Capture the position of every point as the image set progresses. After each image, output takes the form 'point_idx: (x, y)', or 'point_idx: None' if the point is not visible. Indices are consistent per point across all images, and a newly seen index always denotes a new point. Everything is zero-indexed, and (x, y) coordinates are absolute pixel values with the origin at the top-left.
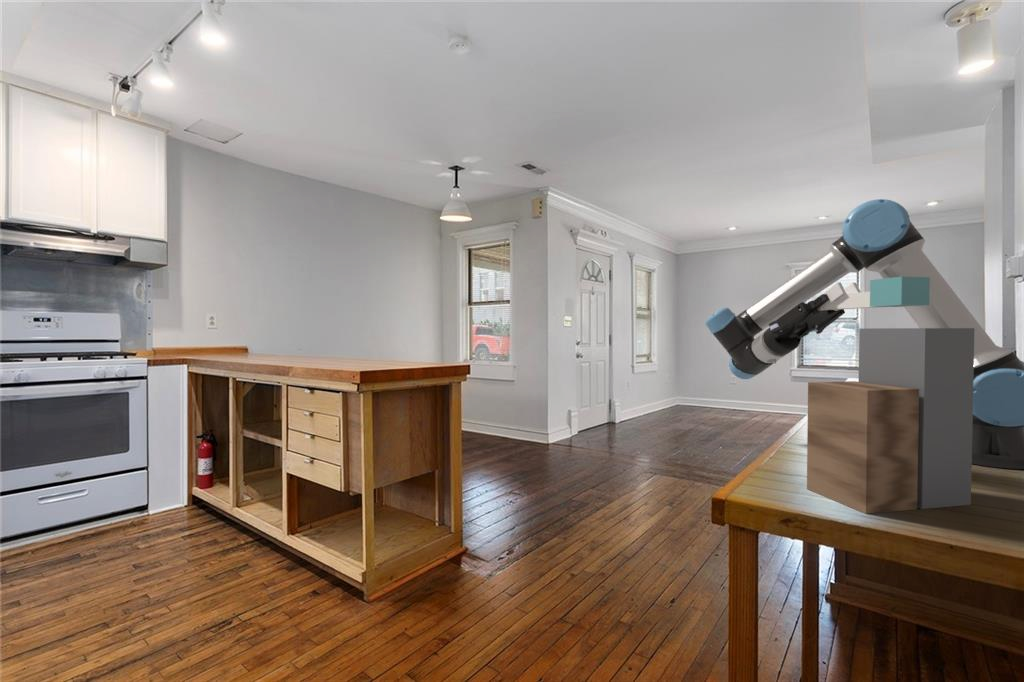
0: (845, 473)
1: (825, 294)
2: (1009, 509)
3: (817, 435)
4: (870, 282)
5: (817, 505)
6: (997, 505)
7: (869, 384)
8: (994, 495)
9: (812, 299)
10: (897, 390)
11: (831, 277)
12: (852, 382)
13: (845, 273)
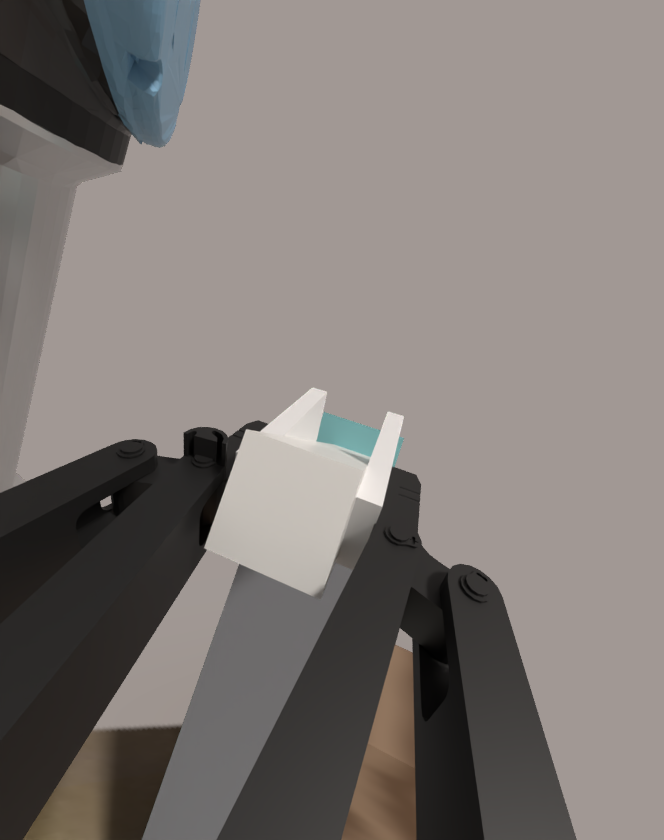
0: None
1: (399, 471)
2: (179, 731)
3: None
4: (401, 444)
5: None
6: (167, 744)
7: (383, 691)
8: (97, 754)
9: (354, 497)
10: (403, 650)
11: None
12: (385, 728)
13: None
